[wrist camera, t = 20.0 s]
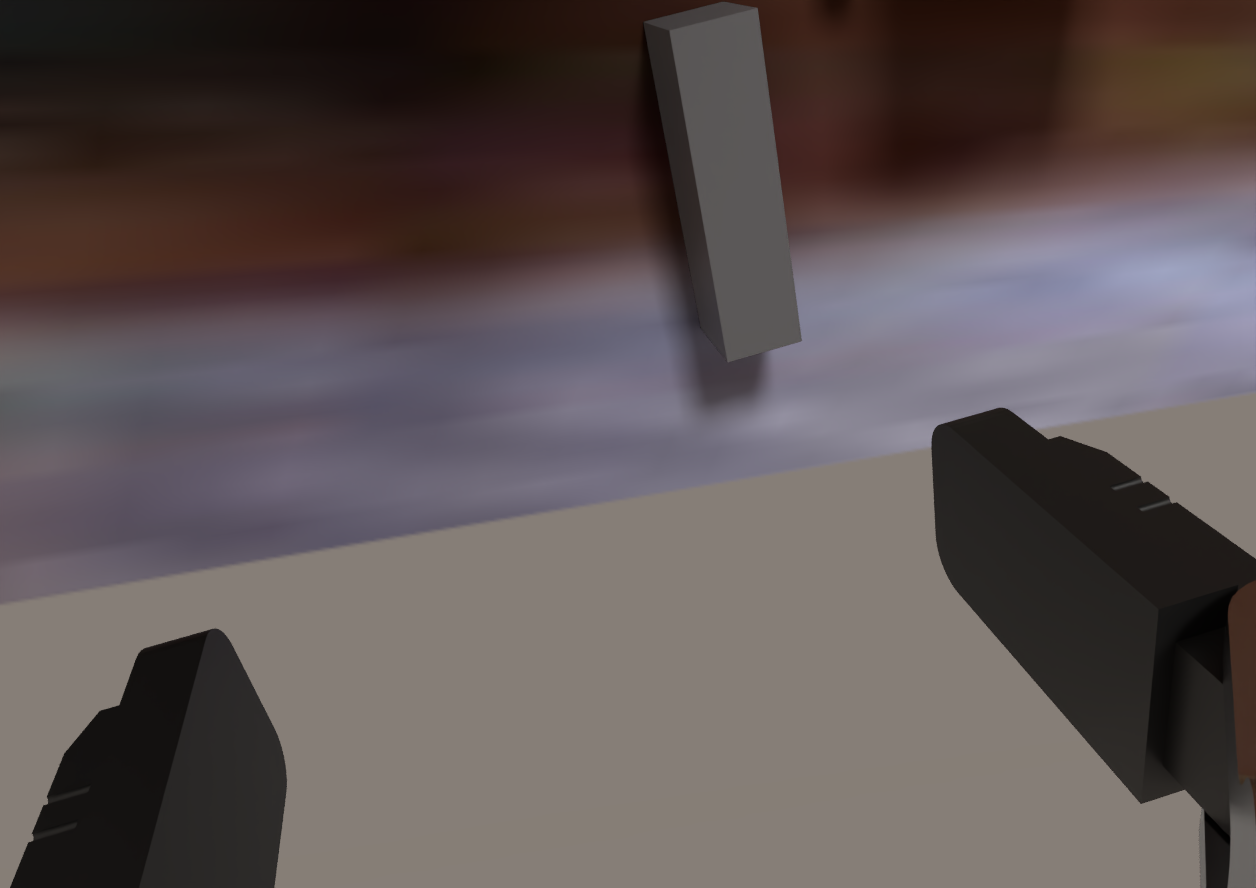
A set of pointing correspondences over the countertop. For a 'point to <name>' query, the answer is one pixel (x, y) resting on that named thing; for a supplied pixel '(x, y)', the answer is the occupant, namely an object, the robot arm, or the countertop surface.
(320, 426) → the countertop surface
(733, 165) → the tall gray bar
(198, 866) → the robot arm
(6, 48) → the countertop surface
